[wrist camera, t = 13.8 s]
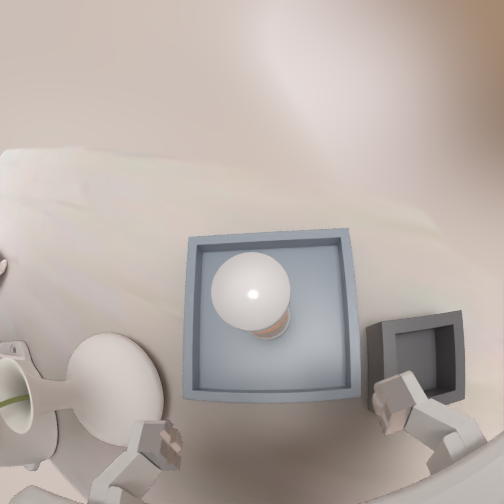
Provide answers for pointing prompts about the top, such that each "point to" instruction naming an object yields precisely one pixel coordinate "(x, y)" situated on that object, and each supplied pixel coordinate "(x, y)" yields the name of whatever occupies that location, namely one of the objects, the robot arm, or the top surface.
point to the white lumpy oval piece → (3, 266)
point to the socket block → (420, 354)
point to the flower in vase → (88, 389)
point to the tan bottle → (253, 295)
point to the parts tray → (296, 336)
